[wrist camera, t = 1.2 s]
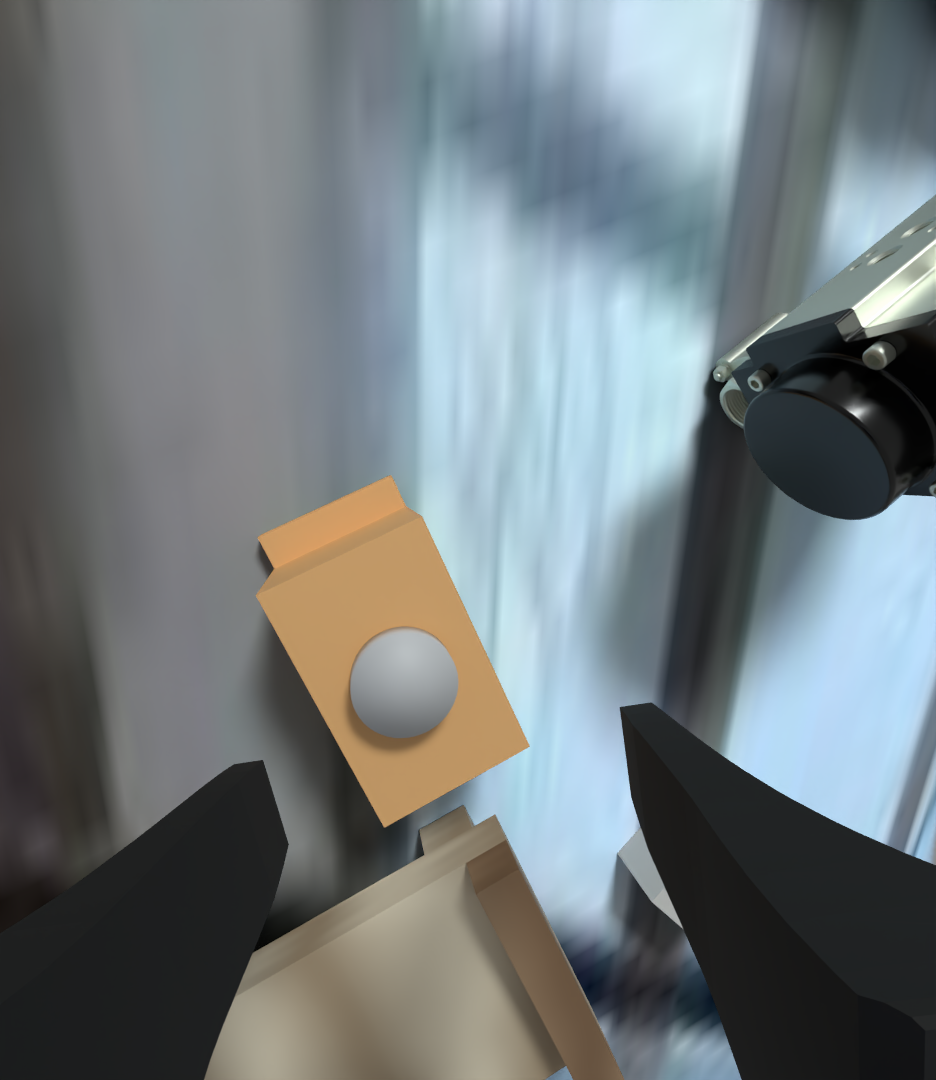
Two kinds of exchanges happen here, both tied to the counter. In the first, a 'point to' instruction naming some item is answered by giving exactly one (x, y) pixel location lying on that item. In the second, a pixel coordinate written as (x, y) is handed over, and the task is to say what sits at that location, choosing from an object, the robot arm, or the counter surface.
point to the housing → (387, 649)
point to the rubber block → (647, 873)
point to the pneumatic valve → (847, 382)
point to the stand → (419, 980)
